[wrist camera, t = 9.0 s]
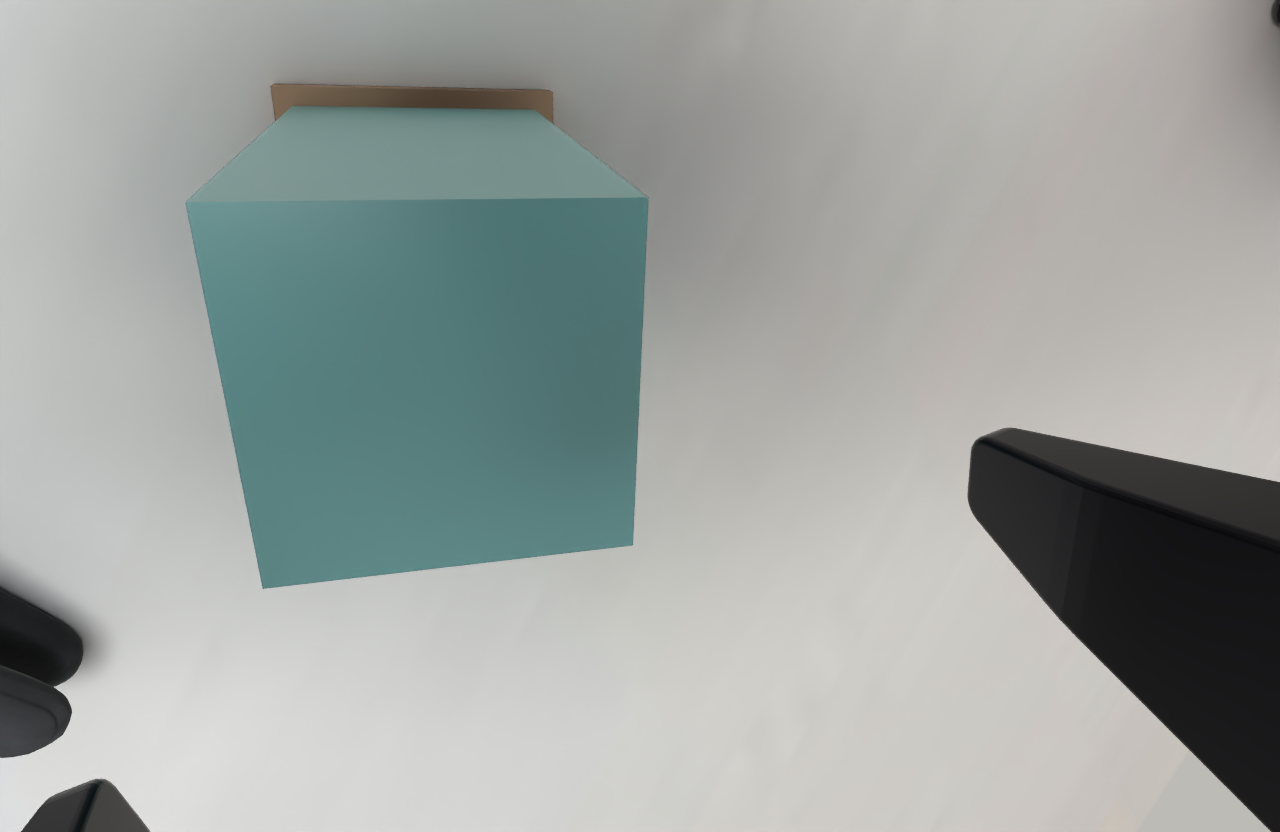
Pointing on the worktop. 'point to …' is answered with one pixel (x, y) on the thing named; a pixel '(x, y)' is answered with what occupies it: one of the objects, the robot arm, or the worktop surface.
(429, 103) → the brown pedestal
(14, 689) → the can opener
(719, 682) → the worktop surface
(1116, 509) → the robot arm
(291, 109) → the teal rectangular block
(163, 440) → the worktop surface
